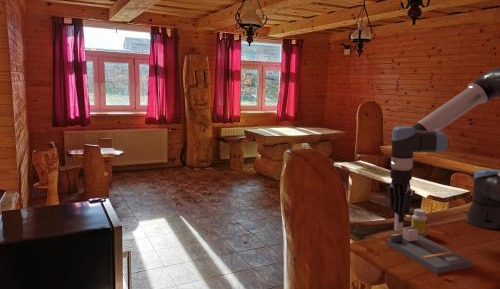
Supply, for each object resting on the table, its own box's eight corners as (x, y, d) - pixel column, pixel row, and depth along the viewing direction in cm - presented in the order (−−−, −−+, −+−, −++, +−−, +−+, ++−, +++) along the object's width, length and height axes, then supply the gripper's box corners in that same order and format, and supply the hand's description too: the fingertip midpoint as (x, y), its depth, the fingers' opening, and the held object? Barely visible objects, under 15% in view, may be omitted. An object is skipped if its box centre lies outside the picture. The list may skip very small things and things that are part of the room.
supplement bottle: (427, 237, 145) (429, 212, 144) (412, 236, 146) (414, 212, 145) (424, 232, 150) (425, 208, 149) (409, 231, 151) (410, 207, 150)
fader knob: (412, 237, 139) (412, 225, 138) (417, 240, 136) (418, 228, 136) (402, 238, 138) (402, 227, 137) (407, 241, 135) (408, 230, 134)
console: (417, 239, 143) (418, 227, 142) (471, 267, 120) (472, 253, 120) (386, 244, 139) (386, 232, 138) (436, 273, 116) (437, 259, 116)
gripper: (381, 165, 144) (379, 224, 148) (405, 172, 132) (401, 237, 135) (398, 164, 147) (395, 222, 150) (422, 171, 134) (419, 234, 138)
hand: (398, 229), depth 143 cm, fingers closed
